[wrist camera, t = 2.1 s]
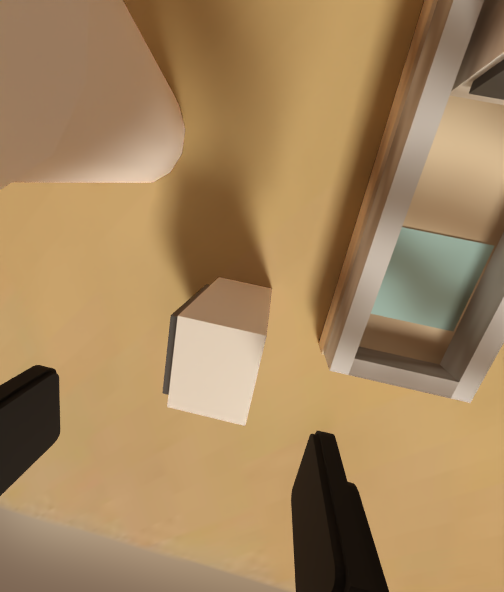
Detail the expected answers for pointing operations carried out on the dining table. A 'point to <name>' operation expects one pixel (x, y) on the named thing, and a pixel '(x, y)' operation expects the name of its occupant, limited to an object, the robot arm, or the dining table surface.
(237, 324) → the white foam block
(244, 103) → the dining table surface
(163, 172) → the foam cup
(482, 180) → the finger rail
